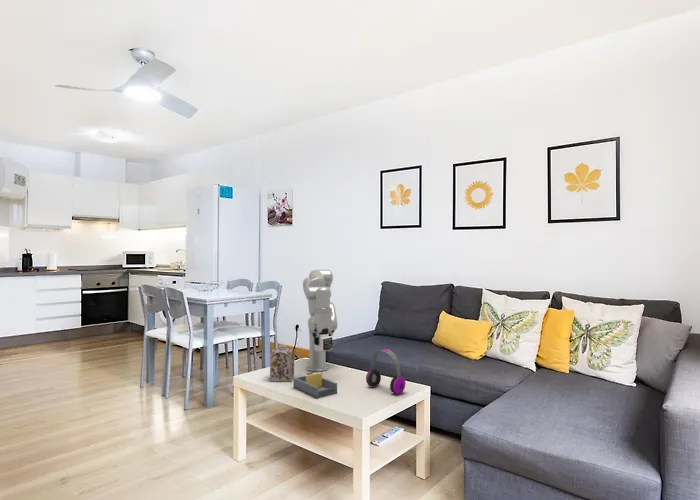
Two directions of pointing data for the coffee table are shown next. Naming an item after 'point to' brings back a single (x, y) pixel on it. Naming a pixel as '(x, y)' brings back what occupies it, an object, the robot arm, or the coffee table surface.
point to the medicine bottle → (324, 341)
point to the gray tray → (316, 392)
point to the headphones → (375, 377)
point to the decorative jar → (282, 364)
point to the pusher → (314, 379)
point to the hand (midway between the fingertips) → (323, 343)
